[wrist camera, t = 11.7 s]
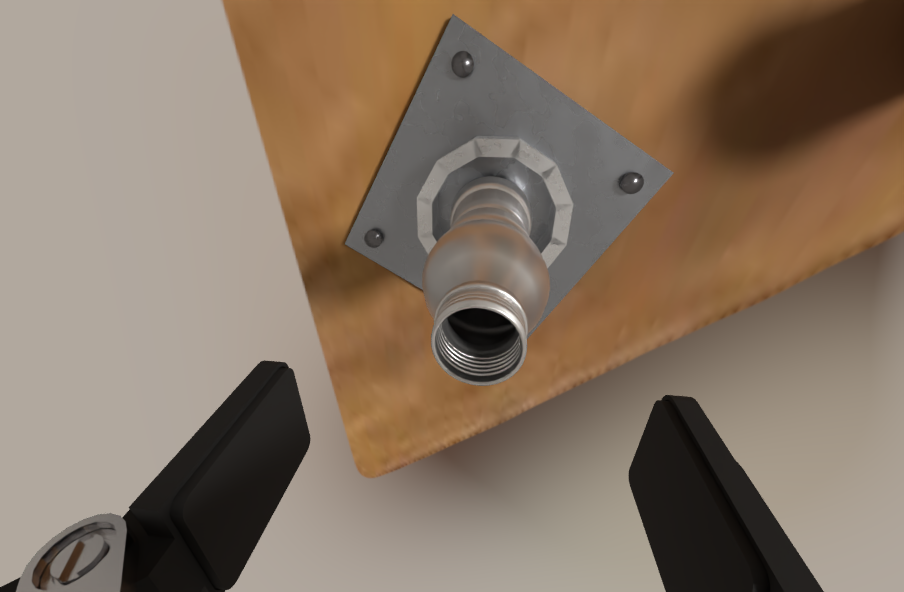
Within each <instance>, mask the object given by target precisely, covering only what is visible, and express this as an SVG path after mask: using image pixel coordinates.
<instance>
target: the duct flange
mask: <svg viewBox="0 0 904 592" xmlns="http://www.w3.org/2000/svg"><path fill="white" fill-rule="evenodd" d="M672 174H673V172H672V171H670V170H669V169H667V168H666V167H665V166H663V165H662V164H661V163H659V162H658V161H656V160H655V159H654V158H652V157H651V156H649V155H648V154H647V153H645V152H644V151H642V150H641V149H640V148H638V147H637V146H636V145H634V144H633V143H631V142H630V141H629V140H627V139H626V138H624V137H623V136H622V135H620V134H619V133H617V132H616V131H615V130H613V129H612V128H611V127H609V126H608V125H606V124H605V123H604V122H602V121H601V120H599V119H598V118H597V117H595V116H594V115H592V114H591V113H590V112H588V111H587V110H586V109H584V108H583V107H581V106H580V105H579V104H577V103H576V102H574V101H573V100H572V99H570V98H569V97H568V96H566V95H565V94H563V93H562V92H561V91H559V90H558V89H556V88H555V87H554V86H552V85H551V84H549V83H548V82H547V81H545V80H544V79H543V78H541V77H540V76H538V75H537V74H536V73H534V72H533V71H531V70H530V69H529V68H527V67H526V66H524V65H523V64H522V63H520V62H519V61H518V60H516V59H515V58H513V57H512V56H511V55H509V54H508V53H506V52H505V51H504V50H502V49H501V48H499V47H498V46H497V45H495V44H494V43H493V42H491V41H490V40H488V39H487V38H486V37H484V36H483V35H481V34H480V33H479V32H477V31H476V30H475V29H473V28H472V27H470V26H469V25H468V24H466V23H465V22H463V21H462V20H461V19H459V18H458V17H456V16H455V15H454V14H453V15H452V17H451V19H450V21H449V23H448V26H447V28H446V30H445V32H444V34H443V36H442V38H441V40H440V43H439V45H438V47H437V49H436V51H435V53H434V55H433V57H432V60H431V62H430V64H429V66H428V68H427V70H426V72H425V74H424V77H423V79H422V81H421V83H420V85H419V87H418V89H417V91H416V94H415V96H414V98H413V100H412V102H411V104H410V106H409V108H408V111H407V113H406V115H405V117H404V119H403V121H402V123H401V125H400V128H399V130H398V132H397V134H396V136H395V138H394V140H393V142H392V145H391V147H390V149H389V151H388V153H387V155H386V157H385V159H384V161H383V164H382V166H381V168H380V170H379V172H378V174H377V176H376V178H375V181H374V183H373V185H372V187H371V189H370V191H369V193H368V195H367V198H366V200H365V202H364V204H363V206H362V208H361V210H360V212H359V215H358V217H357V219H356V221H355V223H354V225H353V227H352V229H351V232H350V234H349V236H348V238H347V240H346V242H345V245H347V246H349V247H350V248H352V249H354V250H355V251H357V252H359V253H361V254H362V255H364V256H366V257H367V258H369V259H371V260H372V261H374V262H376V263H378V264H379V265H381V266H383V267H384V268H386V269H388V270H390V271H391V272H393V273H395V274H396V275H398V276H400V277H401V278H403V279H405V280H407V281H408V282H410V283H412V284H413V285H415V286H417V287H419V288H420V289H422V290H423V284H422V274H423V269H424V264H425V262H426V259H427V257H428V255H429V253H430V251H431V250H432V248H433V247H434V246H435V244H436V243H437V241H438V240H439V239H440V238H441V237H442V236H443V235H444V234H445V233H446V232H447V231H448V230H450V228H451V227H450V212H451V207H452V203H453V201H454V199H455V197H456V195H457V194H458V192H459V191H460V190H461V189H462V188H463V187H464V186H465V185H466V184H468V183H469V182H471V181H473V180H475V179H478V178H481V177H488V176H494V177H500V178H503V179H507V180H508V181H510V182H512V183H514V184H515V185H516V186H518V187H519V188H520V189H521V190H522V191H523V193H524V194H525V195H526V197H527V199H528V201H529V203H530V206H531V210H532V227H531V233H530V236H529V237H530V238H531V240H532V241H533V242H534V244H535V245H536V246H537V247H538V249H539V251H540V253H541V255H542V257H543V259H544V261H545V263H546V266H547V269H548V273H549V279H550V291H549V298H548V301H547V304H546V307H545V309H544V312H543V314H542V317H541V319H540V320H539V322H538V323H537V325H536V326H535V327H534V328H533V329H532V330H531V331H530V332H529V333H528V334H527V339H528V337H529V336H530V335H531V334H532V333H533V332H534V331H535V330H536V328H537V327H538V326H539V325H540V324H541V323H542V322H543V320H544V319H545V318H546V317H547V316H548V315H549V314H550V313H551V311H552V310H553V309H554V308H555V307H556V306H557V305H558V303H559V302H560V301H561V300H562V299H563V298H564V297H565V296H566V294H567V293H568V292H569V291H570V290H571V289H572V288H573V286H574V285H575V284H576V283H577V282H578V281H579V280H580V279H581V277H582V276H583V275H584V274H585V273H586V272H587V271H588V269H589V268H590V267H591V266H592V265H593V264H594V263H595V262H596V260H597V259H598V258H599V257H600V256H601V255H602V254H603V252H604V251H605V250H606V249H607V248H608V247H609V246H610V245H611V243H612V242H613V241H614V240H615V239H616V238H617V237H618V235H619V234H620V233H621V232H622V231H623V230H624V229H625V228H626V226H627V225H628V224H629V223H630V222H631V221H632V220H633V218H634V217H635V216H636V215H637V214H638V213H639V212H640V211H641V209H642V208H643V207H644V206H645V205H646V204H647V203H648V201H649V200H650V199H651V198H652V197H653V196H654V195H655V194H656V192H657V191H658V190H659V189H660V188H661V187H662V186H663V184H664V183H665V182H666V181H667V180H668V179H669V178H670V177H671V175H672Z"/></svg>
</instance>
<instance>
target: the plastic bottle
mask: <svg viewBox="0 0 904 592" xmlns="http://www.w3.org/2000/svg"><path fill="white" fill-rule="evenodd" d="M450 227H451V228H450V230H448V231H447V232H446V233H445V234H444V235H443V236H442V237H441V238H440V239H439V240H438V241H437V243H436V244H435V246H434V247H433V248H432V250H431V251H430V253H429V255H428V257H427V259H426V262H425V264H424V269H423V274H422V284H423V292H424V297H425V301H426V305H427V307H428V310H429V312H430V314H431V316H432V317H433V319H434V326H433V330H432V334H431V347H432V351H433V354H434V357H435V359H436V361H437V362H438V364H439V365H440V366H441V368H442V369H443V370H444V371H445V372H446V373H448V374H449V375H450V376H452V377H453V378H455V379H457V380H459V381H461V382H464V383H468V384H471V385H479V386H485V385H493V384H498V383H500V382H503V381H505V380H507V379H509V378H510V377H512V376H513V375H514V374H515V373H516V372H517V371H518V370H519V369H520V367H521V366H522V364H523V362H524V359H525V356H526V351H527V334H528V333H529V332H530V331H531V330H532V329H533V328H534V327H535V326H536V325H537V323H538V322H539V320H540V319H541V317H542V314H543V312H544V309H545V307H546V304H547V301H548V298H549V291H550V279H549V273H548V269H547V266H546V263H545V261H544V259H543V257H542V255H541V253H540V251H539V249H538V247H537V246H536V245H535V244H534V242H533V241H532V240H531V238H530V237H529V236H530V233H531V227H532V210H531V206H530V203H529V201H528V199H527V197H526V195H525V194H524V193H523V191H522V190H521V189H520V188H519V187H518V186H516V185H515V184H514V183H512V182H510V181H508V180H507V179H503V178H500V177H494V176H488V177H481V178H478V179H475V180H473V181H471V182H469V183H468V184H466V185H465V186H464V187H463V188H462V189H461V190H460V191H459V192H458V194H457V195H456V197H455V199H454V201H453V203H452V207H451V212H450Z"/></svg>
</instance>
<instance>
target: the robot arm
mask: <svg viewBox="0 0 904 592" xmlns="http://www.w3.org/2000/svg"><path fill="white" fill-rule="evenodd" d="M309 444H310V434H309V430H308V426H307V422H306V418H305V414H304V411H303V406H302V402H301V398H300V395H299V391H298V387H297V383H296V379H295V376H294V372H293V370H292V369H291V368H289V367H288V365H287V364H286V363H284V362H274V361H261V362H260V363H259V364H258V365H257V366H256V367H255V368H254V369H253V370H252V371H251V373H250V374H249V375H248V376H247V377H246V378H245V379H244V380H243V381H242V382H241V384H240V385H239V386H238V387H237V388H236V389H235V390H234V391H233V392H232V394H231V395H230V396H229V397H228V398H227V399H226V400H225V401H224V402H223V404H222V405H221V406H220V407H219V408H218V409H217V410H216V411H215V412H214V414H213V415H212V416H211V417H210V418H209V419H208V420H207V421H206V422H205V424H204V425H203V426H202V427H201V428H200V429H199V430H198V431H197V432H196V433H195V435H194V436H193V437H192V438H191V439H190V440H189V441H188V442H187V443H186V445H185V446H184V447H183V448H182V449H181V450H180V451H179V453H178V454H177V455H176V456H175V457H174V458H173V459H172V460H171V461H170V462H169V463H168V465H167V466H166V467H165V468H164V469H163V470H162V471H161V472H160V474H159V475H158V476H157V477H156V478H155V479H154V480H153V481H152V482H151V483H150V484H149V486H148V487H147V488H146V489H145V490H144V491H143V492H142V493H141V494H140V496H139V497H138V498H137V499H136V500H135V501H134V502H133V503H132V505H131V506H130V507H129V508H130V510H129V511H128V512H127V513H126V514H125V515H124V517H123V518H121V516H119V515H115V514H111V513H110V514H100V515H96V516H92V517H90V518H87V519H83V520H82V521H79V522H78V523H76V524H74V525H72V526H70V527H68V528H66V529H65V530H63V531H62V532H61V533H59V534H58V535H57V536H55V537H53V538H52V539H51V540H50V541H49V542H48V543H46V545H44V546H43V547H42V548H41V549H40V550H39V551H38V552H37V553H36V554H35V556H34V557H33V558H32V559H31V561H30V562H29V563H28V565H27V566H26V568H25V570H24V572H23V574H22V576H21V577H20V578H18V579H16V580H14V581H12V582H10V583H8V584H6V585H4V586H2V587H0V592H225V590H228V589H230V588H231V587H232V586H233V585H234V584H235V583H236V581H237V580H238V578H239V576H240V574H241V572H242V570H243V569H244V567H245V565H246V563H247V561H248V559H249V557H250V556H251V553H252V552H253V550H254V548H255V546H256V545H257V543H258V541H259V539H260V537H261V535H262V533H263V532H264V530H265V528H266V526H267V524H268V522H269V521H270V519H271V517H272V515H273V513H274V511H275V509H276V508H277V506H278V504H279V502H280V500H281V498H282V497H283V495H284V493H285V491H286V489H287V487H288V486H289V484H290V482H291V480H292V478H293V476H294V474H295V472H296V471H297V469H298V467H299V465H300V463H301V462H302V460H303V458H304V456H305V454H306V452H307V450H308V448H309ZM629 483H630V487H631V490H632V493H633V496H634V499H635V502H636V505H637V507H638V510H639V513H640V516H641V519H642V522H643V525H644V528H645V531H646V534H647V537H648V540H649V543H650V546H651V549H652V552H653V555H654V558H655V561H656V564H657V567H658V570H659V573H660V576H661V578H662V582H663V584H664V588H665V590H666V592H824V591H823V590H822V588H821V587H820V585H819V584H818V582H817V581H816V579H815V578H814V576H813V575H812V573H811V572H810V570H809V569H808V567H807V566H806V564H805V563H804V561H803V559H802V558H801V556H800V555H799V553H798V552H797V550H796V549H795V547H794V546H793V544H792V543H791V541H790V540H789V538H788V537H787V535H786V534H785V532H784V531H783V529H782V528H781V526H780V525H779V523H778V521H777V520H776V518H775V517H774V515H773V514H772V512H771V511H770V509H769V508H768V506H767V505H766V503H765V502H764V500H763V499H762V497H761V496H760V494H759V492H758V491H757V489H756V488H755V486H754V485H753V484H752V482H751V480H750V479H749V477H748V476H747V474H746V473H745V471H744V470H743V468H742V467H741V466H740V465H739V464H738V462H736V461H735V459H734V458H733V456H732V455H731V453H730V451H729V450H728V448H727V447H726V445H725V444H724V442H723V441H722V439H721V438H720V436H719V435H718V433H717V432H716V430H715V428H714V427H713V425H712V424H711V422H710V421H709V419H708V418H707V416H706V415H705V413H704V412H703V410H702V409H701V407H700V405H699V404H698V402H697V401H696V400H695V399H694V398H692V397H684V396H673V395H665V396H664V397H663V398H662V400H661V401H659V400H658V401H656V402H655V404H654V406H653V409H652V412H651V414H650V417H649V420H648V422H647V425H646V428H645V430H644V433H643V435H642V438H641V440H640V443H639V446H638V448H637V451H636V454H635V456H634V459H633V461H632V464H631V467H630V469H629Z"/></svg>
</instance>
